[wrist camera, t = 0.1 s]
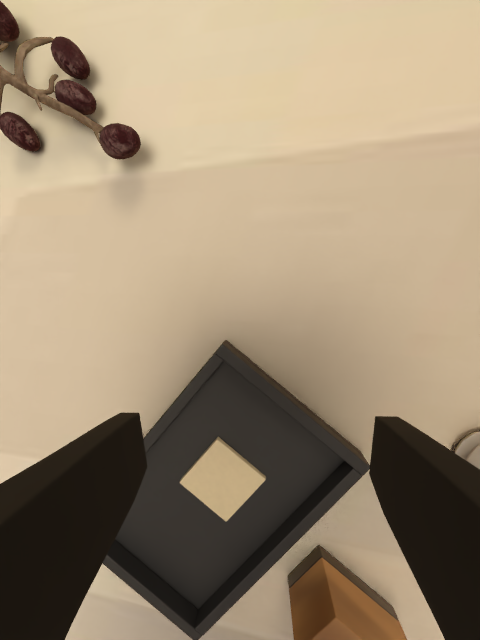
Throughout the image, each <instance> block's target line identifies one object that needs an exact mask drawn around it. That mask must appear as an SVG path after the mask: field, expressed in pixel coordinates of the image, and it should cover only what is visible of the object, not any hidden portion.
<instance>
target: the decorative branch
mask: <svg viewBox="0 0 480 640" xmlns="http://www.w3.org/2000/svg"><path fill="white" fill-rule="evenodd" d="M18 37H19V27H18V24H17V22H16V20H15V18H14V17H13V15H12V14H11V12H10V11H9V10H8V8H7V7H6V6H5V5H4V4H3V3H2V2H1V1H0V41H3V42H13V41H15V40H16V39H17V38H18ZM50 42H52V44H51V51H52V55H53V57H54V60H55V61H56V62H57V64H58V65H59V67H60V68H61V69H62V70H63V71H64V72H66V73H67V74H68V75H70V76H71V77H74V78H76V79H80V80H83V79H87V77H88V76H89V75H90V68H89V64H88V62H87V60H86V58H85V56H84V54H83V53H82V52H81V50H80V49H79V48H78V46H77V45H76V44H75V43H73V42H72V41H71V40H69V39H67V38H65V37H56V38H55V39H53V38H51V37H36V38H33V39H30V40H26V41H25V42H23V43H22V44H20V45H19V47H18V49H17V52H16V55H15V74H14V75H12V74H11V73H9V72H8V71H6V70H5V69H4V68H3V67H1V66H0V110H1V102H2V94H3V88H4V86H5V85H6V84H11V85H12V86H14V87H15V88H17V89H19V90H20V91H22V92H23V93H25V94H27V95H28V96H30V97H32V98H33V99H35V100H36V102H37V104H38V107H39V109H40V110H41V111H42V107H41V105H40V102H41V103H43V104H45V105H47V106H49V107H51V108H53V109H55V110H57V111H60V112H62V113H64V114H66V115H69V116H71V117H73V118H75V119H76V120H78V121H79V122H81V123H83V124H84V125H86V126H87V127H89V128H91V129H92V130H93V131H94V133H95V135H96V137H97V139H98V141H99V143H100V144H101V146H102V148H103V150H104V151H105V152H106V153H107V154H108V155H109V156H111V157H112V158H115V159H127V158H130V157H132V156H133V155H135V154H136V153H137V152H138V151H139V149H140V145H141V142H140V138H139V135H138V134H137V132H136V131H135V130H134V129H133V128H132V127H129V126H126V125H123V124H119V123H116V124H110V125H107V126H105V127H102V126H101V125H99V124H97V123H96V122H94V121H92V120H91V119H89V118H88V117H86V116H84V115H90V114H92V113H94V112H95V109H96V100H95V98H94V97H93V95H92V93H91V92H90V91H88V90H87V89H86V88H85V87H84V86H82V85H81V84H79V83H76V82H74V81H71V80H61V81H59V82H57V84H56V86H55V95H56V98H57V100H58V101H57V100H55V99H53V98H51V97H49V96H47V95H48V94H51V93H53V92H54V81H55V80H56V79H57V77H58V75H57V74H54V75H52V76H51V78H50V79H49V89H47V90H38V89H35V88H33V87H31V86H29V85H28V84H27V82H26V79H25V76H24V73H23V60H24V58H25V57H26V55H27V53H29V52H30V51H31V50H32V49H33V48H35V47H38V46H41V45H44V44H47V43H50ZM8 45H9V44H8V43H3V44H0V52H1V51H3V50H4V49H6V48H7V47H8ZM0 114H1V113H0ZM0 129H1V130H2V132H3V133H4V135H5V136H6V137H7V138H9V139H10V140H11V141H12V142H13V143H15V144H16V145H18V146H19V147H21V148H23V149H25V150H28V151H33V152H34V151H37V150H38V149H39V148H40V140H39V138H38V136H37V134H36V133H35V131H34V129H33V128H32V127H31V126H30V125H29V124H28V123H27V122H26V121H25V120H24V119H23V118H22V117H20V116H19V115H17V114H14V113H11V112H5V113H3V114H1V115H0ZM98 133H100V138H99V134H98Z"/></svg>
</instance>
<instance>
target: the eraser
mask: <svg viewBox="0 0 480 640" xmlns="http://www.w3.org/2000/svg"><path fill="white" fill-rule="evenodd" d="M288 582H289V588H290V589H289V593H290V603H291V614H292V624H293V635H294V640H407V639H406V636H405V634H404V632H403V629H402V627H401V625H400V622H399V620H398V618H397V615H396V613H395V611H394V608H393V607H392V606H391V605H390V604H389V603H388V602H386V601H385V600H384V599H383V598H382V597H380V596H379V595H378V594H377V593H376V592H374V591H373V590H372V589H371V588H370V587H369V586H367V585H366V584H365V583H364V582H363V581H361V580H360V579H359V578H358V577H357V576H355V575H354V574H353V573H352V572H351V571H349V570H348V569H347V568H346V567H345V566H343V565H342V564H341V563H340V562H339V561H337V560H336V559H335V558H334V557H333V556H331V555H330V554H329V553H328V552H327V551H325V550H324V549H323V548H322V547H321V546H318V547H317V548H316V549H315V550H314V551H313V552H312V553H311V554H310V555H309V556H307V557H306V558H305V559H304V560H303V561H302V562H301V563H300V564H299V565H298V566H297V567H296V568H295V569H294V570H293V571H292V572H291V573H290V574H289V575H288Z"/></svg>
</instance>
